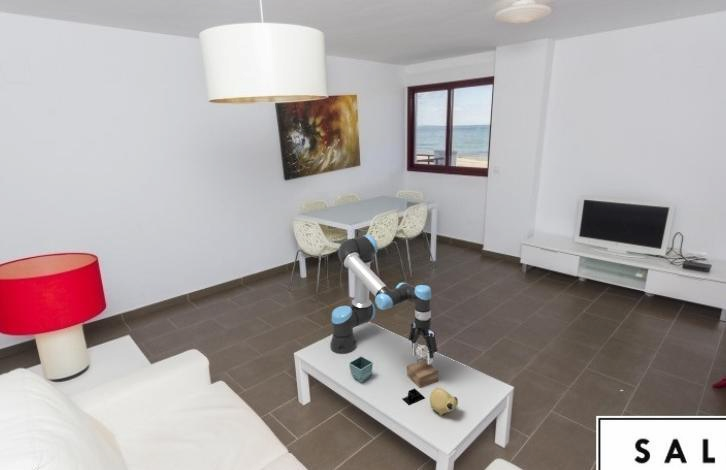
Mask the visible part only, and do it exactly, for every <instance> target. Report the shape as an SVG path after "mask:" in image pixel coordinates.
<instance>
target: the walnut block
mask: <svg viewBox="0 0 726 470" xmlns="http://www.w3.org/2000/svg"><path fill="white" fill-rule="evenodd" d="M406 376H407V377H408V378H409V380H410V381H411V382H413V383H414V384H415V385H416V387H418V389H421V388H424V387H426V386H430V385H431V384H434V383H436V382H438V381H439V370H438V369H436V368H435V366H433V365H432V364H428V361H427V360H419V361H416V362H414V363H412V364H409V365H407V366H406Z"/></svg>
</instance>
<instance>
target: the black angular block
mask: <svg viewBox="0 0 726 470" xmlns="http://www.w3.org/2000/svg"><path fill="white" fill-rule="evenodd" d="M425 399H426V397H425V396H424V395H423V394H422V393H421V392H420V391H418V389H416V388H415V387H413V388H412V389H409V390H408V391H407V396H405V397H403V398H401V400H402V401H403V402H404V403H405V404H407V405H408V406H411V405H414V404H416V403H418V402H420V401H423V400H425Z"/></svg>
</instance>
